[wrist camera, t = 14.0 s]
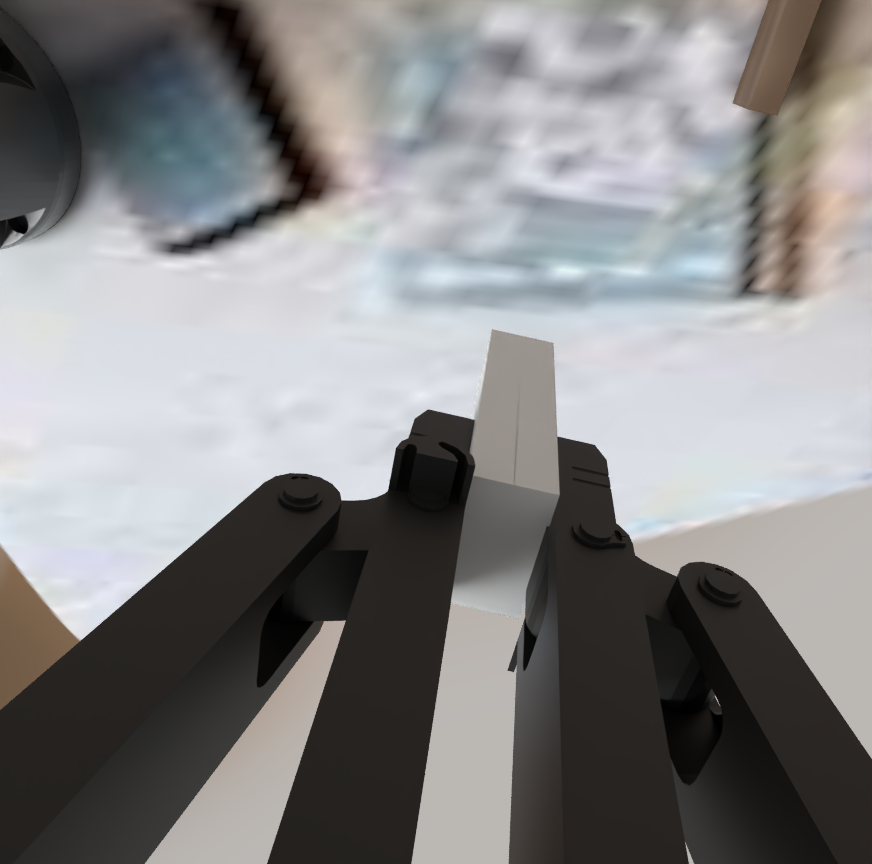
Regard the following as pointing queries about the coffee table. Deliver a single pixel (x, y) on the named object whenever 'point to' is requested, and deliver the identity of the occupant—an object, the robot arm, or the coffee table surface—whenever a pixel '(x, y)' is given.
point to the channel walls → (775, 54)
